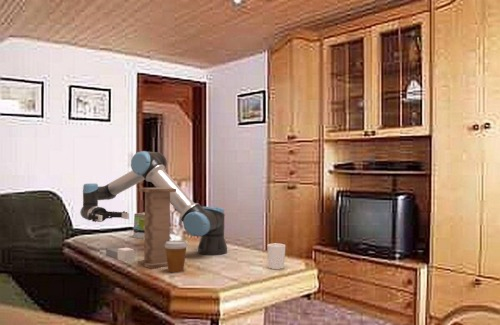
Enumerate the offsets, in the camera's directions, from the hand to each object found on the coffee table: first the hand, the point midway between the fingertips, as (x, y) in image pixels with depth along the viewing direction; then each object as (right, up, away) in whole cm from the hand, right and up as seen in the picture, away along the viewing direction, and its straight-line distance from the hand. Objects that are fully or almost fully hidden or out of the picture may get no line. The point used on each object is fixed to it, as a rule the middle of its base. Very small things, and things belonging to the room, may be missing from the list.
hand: (115, 217), depth 222 cm
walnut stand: (+24, -19, -19) cm, 36 cm away
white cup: (+77, -20, -22) cm, 82 cm away
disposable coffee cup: (+34, -19, -30) cm, 49 cm away
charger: (+3, -19, -4) cm, 19 cm away
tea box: (+3, -19, +58) cm, 61 cm away
